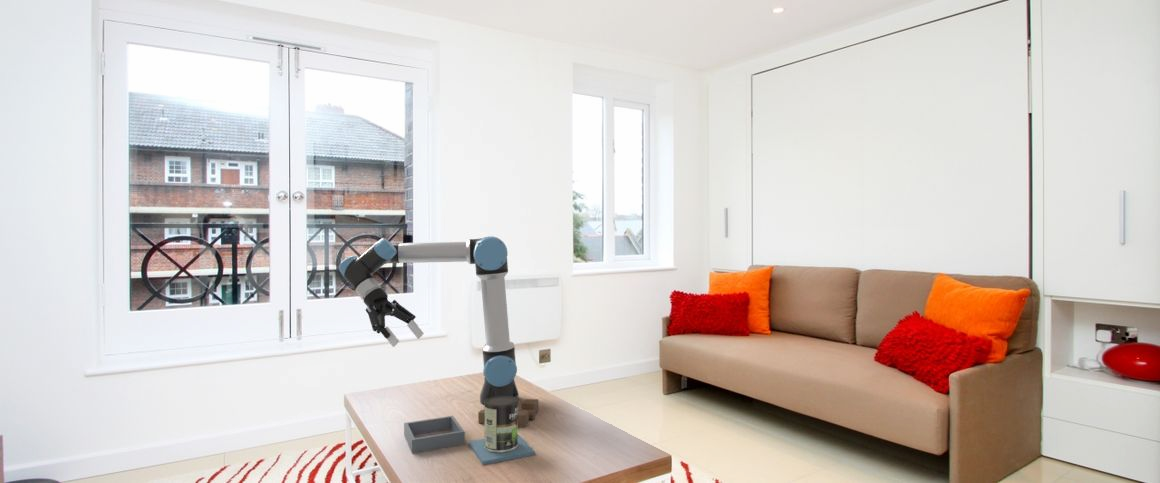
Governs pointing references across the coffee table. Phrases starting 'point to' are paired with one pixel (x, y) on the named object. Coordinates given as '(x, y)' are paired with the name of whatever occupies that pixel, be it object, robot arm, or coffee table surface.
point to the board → (493, 457)
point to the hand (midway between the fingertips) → (409, 340)
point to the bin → (436, 440)
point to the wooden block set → (519, 412)
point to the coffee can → (501, 423)
